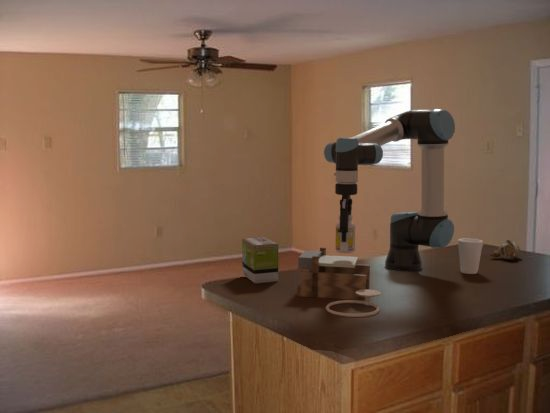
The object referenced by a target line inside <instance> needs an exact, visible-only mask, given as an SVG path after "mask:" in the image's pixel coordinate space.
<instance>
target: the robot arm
mask: <svg viewBox="0 0 550 413" xmlns="http://www.w3.org/2000/svg"><path fill="white" fill-rule="evenodd" d="M455 132H456V123H455V119H454V117H453V115H452V114H451V113H450V112H449V110H446V109H440V108H431V109H412V110H407V111H404V112H401V113H399V114H397V115H394V116H391V117H389V118H388V119H386V120H385V122H384V123H382V124H379V125H377V126H375V127H373V128H370V129H368V130H365V131H363V132H361V133H359V134H356V135H353V136H351V137H338V138H337V139H336V141H333V142H329V143H327V144H326V145H325V146H324V149H323V155H324V158H325V160H326V161H327V162H328V163H332V164H335V172H334V173H333V176H334V177H335V182H336V183H335V185H334V187H335V188H334V189H335V190H334V191H335V192H334V193H335V195H338V196H341V199H340V200H339V212H340V213H339V215H340V229H339V230H338V232H340V251H348V218H349V215H352V209H353V199H352V198H351V196H355V195H356V196H357V194H358V183H357V182H358V180H359V179H358V178H359V177H358V176H359V170H358V168H359V167H358V166H362V165H363V166H367V165H369V166H372V165H373V166H374V165H377V164H380V162H381V161H382V160H383V155H384V152H383V148H382V146H383V145H386V144H388V143H390V142H400V141H402V140H403V141H404V140H417V146H418V147H419V148H420V149H421V210H419V211H404V212H396V213H392V214H391V216H390V223H389V228H390V229H389V251H388V253H387V255H386V258H385V261H384V262H385V264H384V267H385V268H386V269H389V270H395V271H404V272H405V271H406V272H410V271H411V272H413V271H419V270H422V269H423V261H422V258H421V254H420V250H419V246H423V247H429V248H432V249H435V248H437V249H442V248H443V249H444V248H446V247H447V246H448V245H449V244H450V242H451V241H452V239H453V237H454V233H455V225H454V223H453V221H452V220H450V219H449V216H448V215H449V213H448V212H447V211H446V210H445V148H446V147H447V146H448V145H449V141H450V140H451V139H452V138H453V137H454V134H455Z"/></svg>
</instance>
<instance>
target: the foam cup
mask: <svg viewBox="0 0 550 413" xmlns="http://www.w3.org/2000/svg"><path fill="white" fill-rule="evenodd" d="M457 247H458V256H459V267H460V273H462V274H468V275H475V274H478V272H479V266H480V261H481V255H482V249H483V247H484V241H483V240H482V239H478V238H458V240H457Z"/></svg>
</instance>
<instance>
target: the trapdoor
mask: <svg viewBox="0 0 550 413" xmlns="http://www.w3.org/2000/svg"><path fill="white" fill-rule="evenodd" d="M312 256H319V266H331V267H350V268H354V267H355V265H356V264H358V261H359V256H347V255H346V256H345V255H343V256H342V255H327V254H326V255H322V251H320V250H304V251H303V252H302V253H301V254H300V255H299V256H298V262H297V263H298V264H297V265H298V266H297V267H298V269H299V270H309V269H312Z"/></svg>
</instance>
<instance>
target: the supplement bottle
mask: <svg viewBox="0 0 550 413" xmlns="http://www.w3.org/2000/svg"><path fill="white" fill-rule="evenodd" d="M338 220H339V221H338V222H337V223H336V224H335V252H336V253H338V254H353V253H355V250H356V224H355V223H354V222H353V214H351V215H349V218H348V251H340V232H338V230H339V229H340V214H339V215H338Z"/></svg>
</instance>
